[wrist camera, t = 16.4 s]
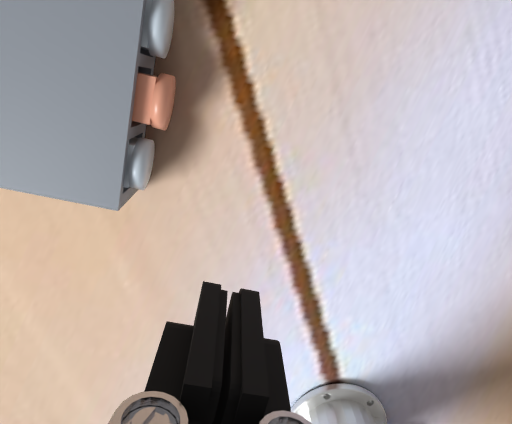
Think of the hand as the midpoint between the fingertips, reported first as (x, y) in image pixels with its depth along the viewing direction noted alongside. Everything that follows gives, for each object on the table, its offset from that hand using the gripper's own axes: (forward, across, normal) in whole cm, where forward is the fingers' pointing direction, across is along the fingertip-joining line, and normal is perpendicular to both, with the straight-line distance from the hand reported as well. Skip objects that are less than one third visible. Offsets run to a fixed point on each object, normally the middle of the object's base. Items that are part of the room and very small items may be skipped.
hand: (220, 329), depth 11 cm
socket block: (+26, +13, -4) cm, 29 cm away
